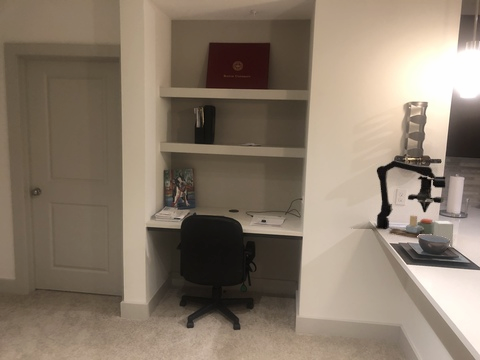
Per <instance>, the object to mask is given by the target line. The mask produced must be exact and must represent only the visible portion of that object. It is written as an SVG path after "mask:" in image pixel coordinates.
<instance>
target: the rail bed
mask: <svg viewBox="0 0 480 360" xmlns="http://www.w3.org/2000/svg"><path fill="white" fill-rule="evenodd" d="M389 234H393V235H399V236H403V237H410V238H415V239H418V238H417V236H418V235H419V234H425V233H424V230H423V229H422V230H420V232H417V233H414V232H408V231H406V229H405V228H404V229H403V228H397V227H391V229H390V230H389ZM425 235H426V234H425Z"/></svg>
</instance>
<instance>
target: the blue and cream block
mask: <svg viewBox="0 0 480 360" xmlns="http://www.w3.org/2000/svg"><path fill="white" fill-rule="evenodd" d="M417 223H418V215H416V214H415V215H414V214H412V215H410V216H409V224H408V225H405V230H406V231H408V232H414V233H417V232H419V231H420V230H421V225H417Z"/></svg>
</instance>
